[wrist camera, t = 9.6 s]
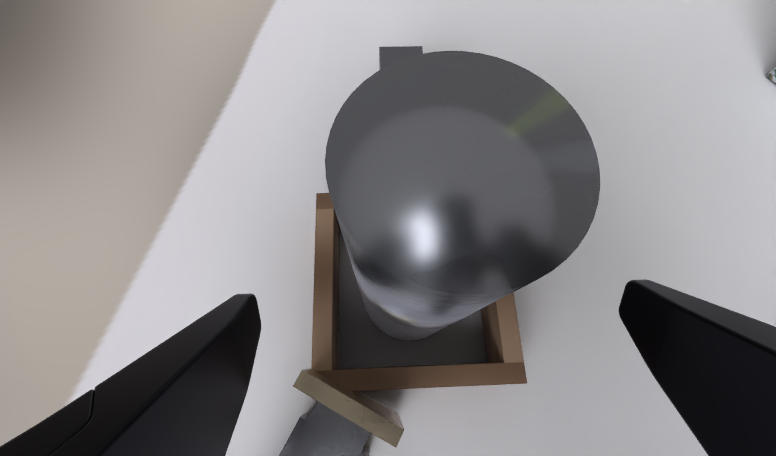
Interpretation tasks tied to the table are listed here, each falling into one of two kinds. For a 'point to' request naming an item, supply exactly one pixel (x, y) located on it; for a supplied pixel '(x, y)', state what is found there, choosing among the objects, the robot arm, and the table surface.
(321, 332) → the hollow wooden square frame
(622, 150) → the table surface
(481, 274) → the grey cylinder
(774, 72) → the syrup box
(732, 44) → the table surface
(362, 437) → the grey and wooden pieces
